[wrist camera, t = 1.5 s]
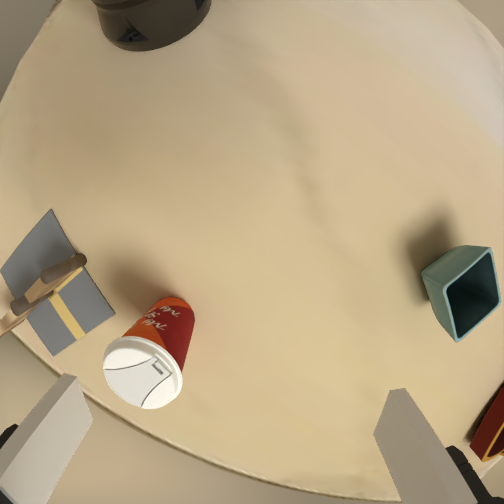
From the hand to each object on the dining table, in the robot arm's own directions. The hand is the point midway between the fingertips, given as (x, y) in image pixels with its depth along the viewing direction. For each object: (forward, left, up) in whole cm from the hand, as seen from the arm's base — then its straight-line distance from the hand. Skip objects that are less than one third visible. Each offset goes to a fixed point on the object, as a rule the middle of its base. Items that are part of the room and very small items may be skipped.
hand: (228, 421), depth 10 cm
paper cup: (+1, -11, -25) cm, 27 cm away
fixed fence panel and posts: (-12, -22, -25) cm, 35 cm away
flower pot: (+16, +22, -25) cm, 37 cm away
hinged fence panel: (-12, -32, -24) cm, 42 cm away
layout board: (-12, -27, -25) cm, 38 cm away
